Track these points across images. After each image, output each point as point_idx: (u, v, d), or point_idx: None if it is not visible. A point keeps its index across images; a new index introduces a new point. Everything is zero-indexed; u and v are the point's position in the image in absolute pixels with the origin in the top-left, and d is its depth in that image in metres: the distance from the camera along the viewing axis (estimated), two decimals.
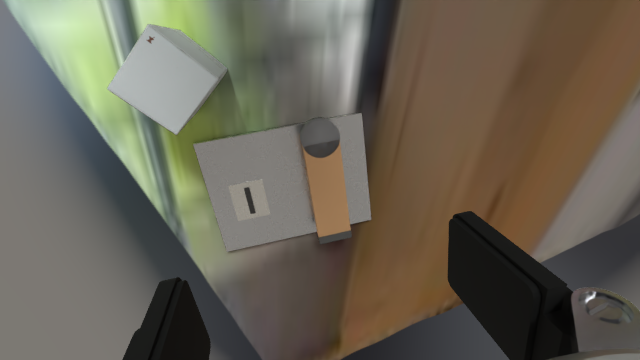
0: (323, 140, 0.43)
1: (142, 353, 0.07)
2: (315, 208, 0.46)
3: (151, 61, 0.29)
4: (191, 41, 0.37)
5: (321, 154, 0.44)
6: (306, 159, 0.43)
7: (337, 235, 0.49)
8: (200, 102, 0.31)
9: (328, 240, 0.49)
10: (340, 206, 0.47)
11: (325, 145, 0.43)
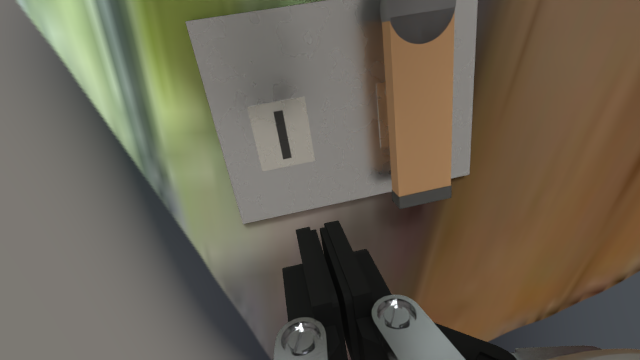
0: (426, 7, 0.23)
1: (316, 275, 0.09)
2: (398, 143, 0.27)
3: None
4: None
5: (419, 38, 0.24)
6: (392, 45, 0.24)
7: (429, 193, 0.29)
8: None
9: (414, 202, 0.29)
10: (439, 141, 0.27)
11: (429, 18, 0.23)
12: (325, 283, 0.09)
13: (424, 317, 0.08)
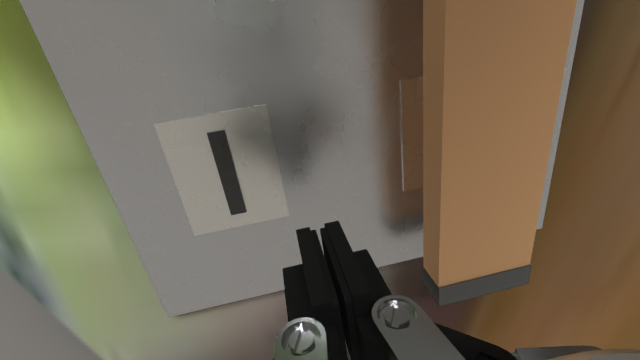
0: None
1: (316, 275, 0.09)
2: (445, 198, 0.14)
3: None
4: None
5: None
6: None
7: (492, 280, 0.16)
8: None
9: (464, 294, 0.16)
10: (520, 193, 0.14)
11: None
12: (325, 283, 0.09)
13: (424, 317, 0.08)
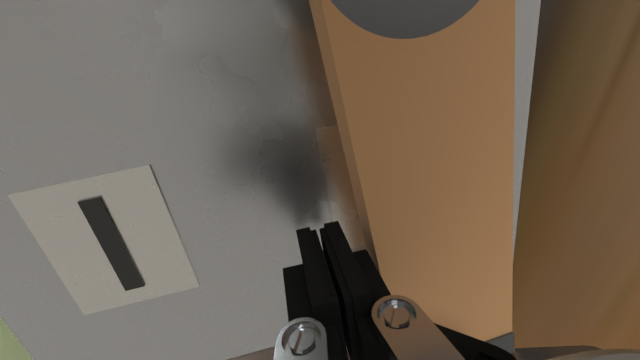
0: None
1: (317, 275, 0.09)
2: (388, 279, 0.11)
3: None
4: None
5: (415, 20, 0.08)
6: (337, 52, 0.08)
7: None
8: None
9: None
10: (484, 259, 0.12)
11: None
12: (325, 283, 0.09)
13: (424, 317, 0.08)
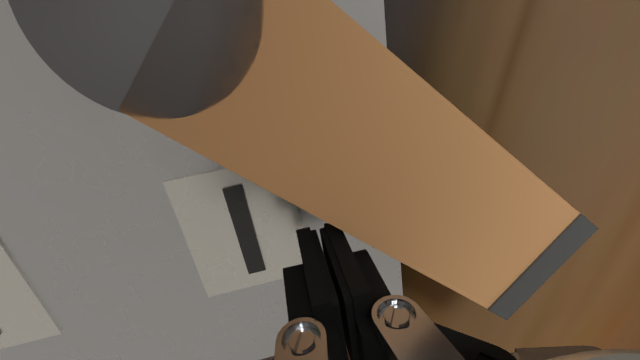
0: None
1: (317, 275, 0.09)
2: (403, 256, 0.11)
3: None
4: None
5: (228, 70, 0.08)
6: (195, 145, 0.08)
7: (544, 261, 0.12)
8: None
9: (525, 293, 0.13)
10: (485, 180, 0.11)
11: (195, 9, 0.07)
12: (325, 283, 0.09)
13: (424, 317, 0.08)
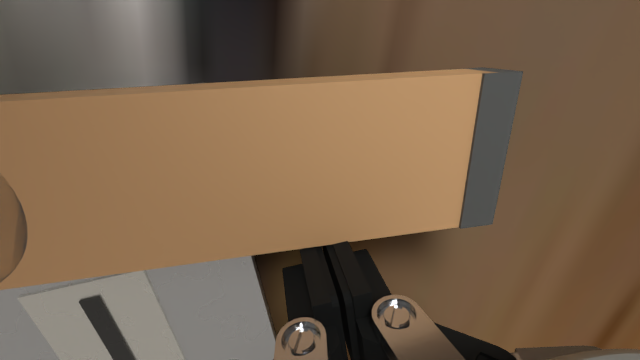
0: None
1: (316, 275, 0.09)
2: (315, 240, 0.10)
3: None
4: None
5: (5, 214, 0.08)
6: (47, 278, 0.09)
7: (482, 146, 0.10)
8: None
9: (490, 189, 0.10)
10: (329, 125, 0.09)
11: None
12: (325, 283, 0.09)
13: (424, 317, 0.08)
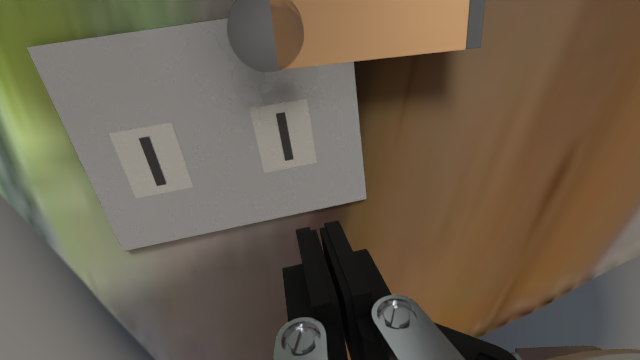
0: (269, 26, 0.22)
1: (316, 275, 0.09)
2: (404, 52, 0.24)
3: None
4: None
5: (298, 33, 0.22)
6: (304, 64, 0.23)
7: (473, 7, 0.24)
8: None
9: (478, 28, 0.24)
10: None
11: (279, 22, 0.22)
12: (325, 283, 0.09)
13: (424, 317, 0.08)
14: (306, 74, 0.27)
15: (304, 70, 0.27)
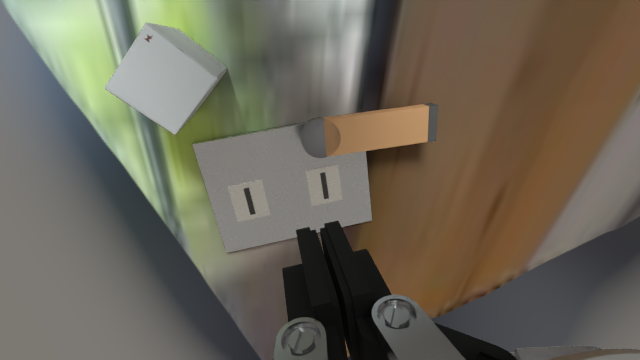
0: (322, 136, 0.42)
1: (316, 275, 0.09)
2: (393, 145, 0.44)
3: (150, 60, 0.29)
4: (190, 40, 0.37)
5: (337, 138, 0.43)
6: (340, 153, 0.43)
7: (431, 121, 0.44)
8: (199, 102, 0.31)
9: (434, 131, 0.45)
10: (397, 118, 0.43)
11: (328, 134, 0.42)
12: (325, 283, 0.09)
13: (424, 317, 0.08)
14: None
15: None
